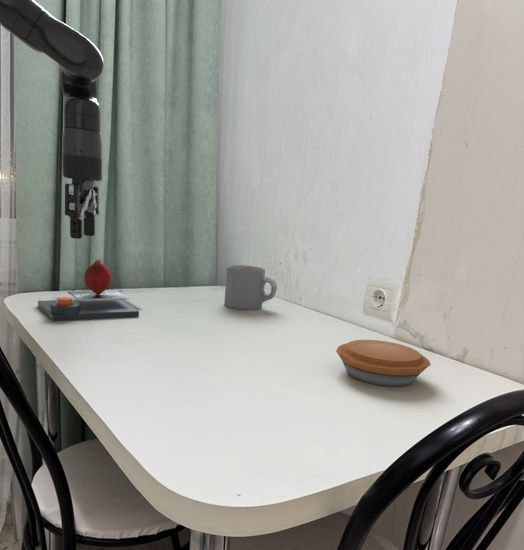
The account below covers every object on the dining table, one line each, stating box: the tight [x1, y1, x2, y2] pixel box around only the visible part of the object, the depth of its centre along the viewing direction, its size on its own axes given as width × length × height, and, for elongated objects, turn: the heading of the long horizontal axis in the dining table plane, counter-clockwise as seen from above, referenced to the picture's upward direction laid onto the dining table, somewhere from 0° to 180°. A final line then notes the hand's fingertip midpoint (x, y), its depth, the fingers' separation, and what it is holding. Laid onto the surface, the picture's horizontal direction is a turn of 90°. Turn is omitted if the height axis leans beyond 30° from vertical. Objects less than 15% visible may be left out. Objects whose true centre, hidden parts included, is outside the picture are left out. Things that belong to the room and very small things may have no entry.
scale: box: [37, 299, 140, 322], centre depth 111 cm, size 18×14×3 cm
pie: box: [335, 339, 431, 387], centre depth 86 cm, size 15×16×5 cm
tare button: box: [56, 296, 73, 306], centre depth 104 cm, size 3×3×2 cm
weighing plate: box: [67, 289, 130, 301], centre depth 114 cm, size 11×9×1 cm
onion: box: [83, 258, 112, 294], centre depth 113 cm, size 6×6×8 cm
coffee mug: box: [223, 264, 277, 311], centre depth 132 cm, size 13×10×10 cm
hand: (83, 236), depth 106 cm, fingers open, 8 cm apart
